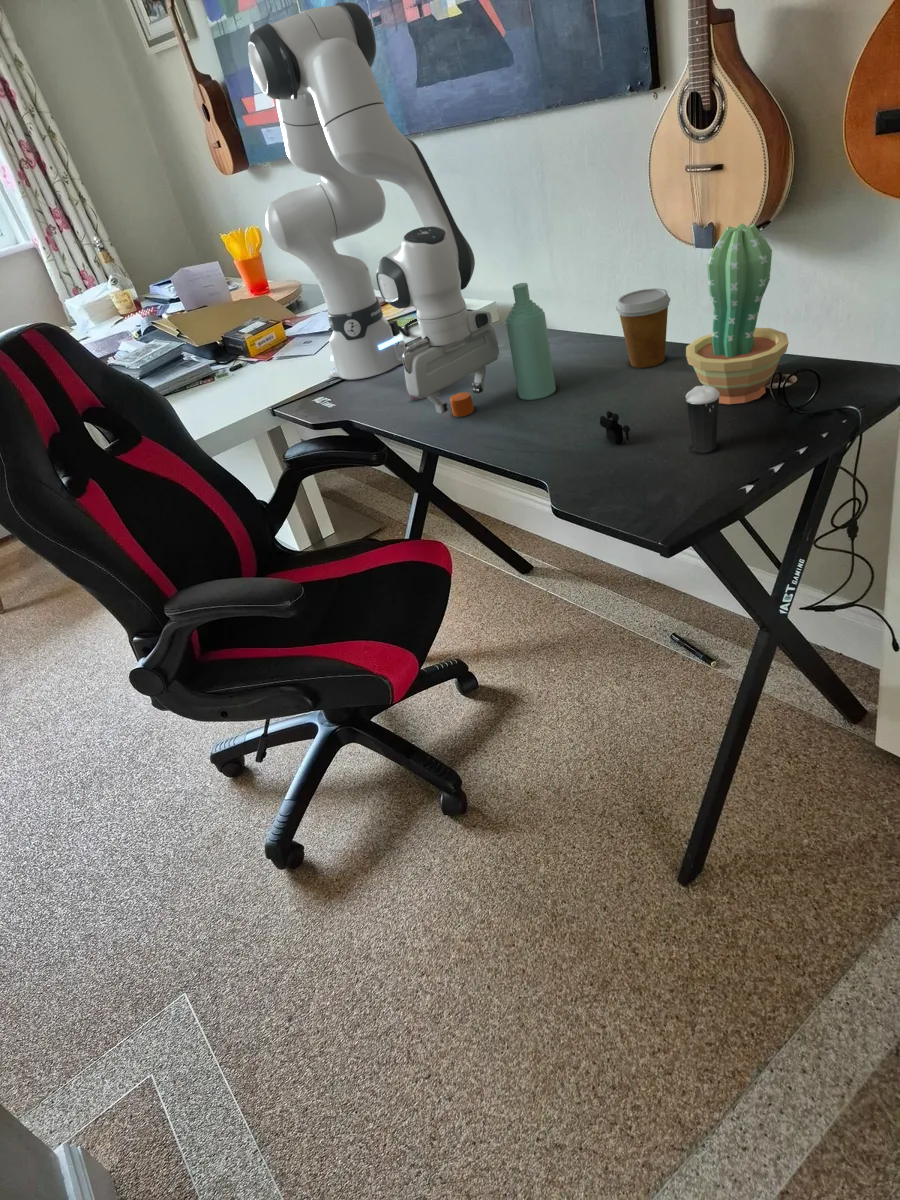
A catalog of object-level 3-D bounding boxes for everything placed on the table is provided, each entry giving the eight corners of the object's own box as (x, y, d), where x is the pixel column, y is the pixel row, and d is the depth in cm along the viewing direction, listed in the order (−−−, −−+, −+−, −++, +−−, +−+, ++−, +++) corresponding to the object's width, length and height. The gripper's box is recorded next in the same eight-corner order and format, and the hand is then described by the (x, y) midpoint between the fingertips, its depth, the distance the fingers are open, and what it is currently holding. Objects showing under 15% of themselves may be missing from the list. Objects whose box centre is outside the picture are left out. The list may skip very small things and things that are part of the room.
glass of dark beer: (678, 447, 115) (674, 382, 109) (714, 438, 115) (712, 373, 109) (688, 459, 111) (685, 393, 106) (725, 450, 111) (724, 383, 105)
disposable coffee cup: (680, 351, 146) (677, 286, 140) (663, 371, 140) (658, 303, 134) (632, 352, 151) (627, 289, 145) (613, 371, 145) (607, 306, 139)
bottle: (513, 392, 148) (494, 287, 137) (547, 381, 149) (531, 276, 138) (526, 403, 142) (508, 294, 131) (561, 391, 143) (546, 282, 132)
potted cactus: (809, 384, 123) (817, 213, 109) (739, 420, 118) (738, 246, 104) (733, 368, 134) (731, 212, 121) (666, 400, 129) (656, 241, 116)
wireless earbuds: (633, 446, 118) (631, 415, 116) (620, 452, 118) (617, 421, 115) (605, 435, 124) (602, 405, 121) (593, 440, 123) (589, 410, 120)
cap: (476, 412, 144) (473, 396, 142) (456, 418, 143) (453, 402, 142) (470, 406, 147) (466, 390, 145) (450, 412, 147) (447, 396, 145)
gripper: (411, 351, 130) (430, 427, 138) (497, 309, 139) (510, 383, 147) (389, 347, 134) (408, 422, 142) (473, 307, 144) (487, 379, 151)
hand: (460, 401), depth 145 cm, fingers open, 8 cm apart
